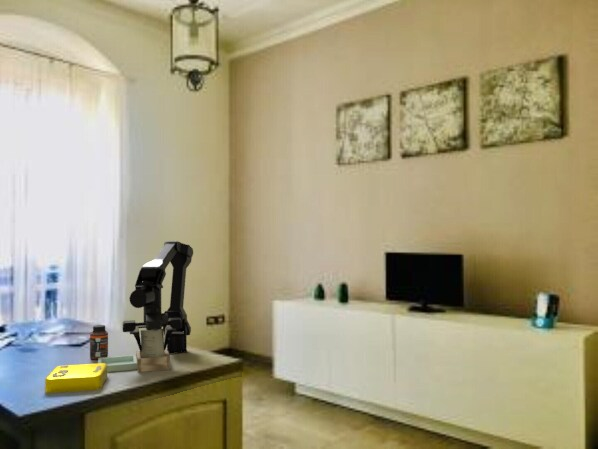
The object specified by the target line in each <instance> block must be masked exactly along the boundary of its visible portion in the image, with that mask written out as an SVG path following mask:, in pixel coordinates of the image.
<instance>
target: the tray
mask: <svg viewBox="0 0 598 449" xmlns="http://www.w3.org/2000/svg"><path fill="white" fill-rule="evenodd" d="M98 363H105V364H107V373H109V372H120V371H121V372H122V371H132V370H137V359H136V354H130V355H129V354H128V355H119V356H117V355H116V356H108V357H102V358H98V360H97V364H98Z"/></svg>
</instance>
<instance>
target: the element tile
mask: <svg viewBox="0 0 598 449" xmlns="http://www.w3.org/2000/svg"><path fill="white" fill-rule="evenodd" d="M106 380H108V372H107V364H105V363H98V362H97V363H86V364H68V365H67V364H66V365H65V364H64V365H58V366H56V367H54V369H52V370H51V372H50V373H49V374H48V375H47V376H46V377H45V378H44V385H45V386H44V392H45V393H46V394H57V393H58V394H59V393H74V392H75V391H76V392H88V391H89V390H91V391H98V390H100V388H101V389H102V388H103V386H104V384H105V383H104V382H106ZM97 389H98V390H97ZM89 392H90V391H89Z"/></svg>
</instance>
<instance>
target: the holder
mask: <svg viewBox="0 0 598 449" xmlns="http://www.w3.org/2000/svg"><path fill="white" fill-rule="evenodd" d="M135 353H136V354H135V355H136V359H137V369H136V370H137V373H144V372H153V371H154V372H155V371H165V370H171V355H170V353H169V352H168V351H167V348H166V349H165V350H164V357H153V358H142V354H141V352H140V350H136V352H135Z"/></svg>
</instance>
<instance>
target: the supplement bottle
mask: <svg viewBox="0 0 598 449" xmlns="http://www.w3.org/2000/svg"><path fill="white" fill-rule="evenodd" d="M89 357H90V358H89V359H90V360H94V361H95V360H97V361H98V358H102V357H109V332H108V331H107V330H106V325H105V324H96V325H93V326H92V332H90V334H89Z"/></svg>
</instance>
